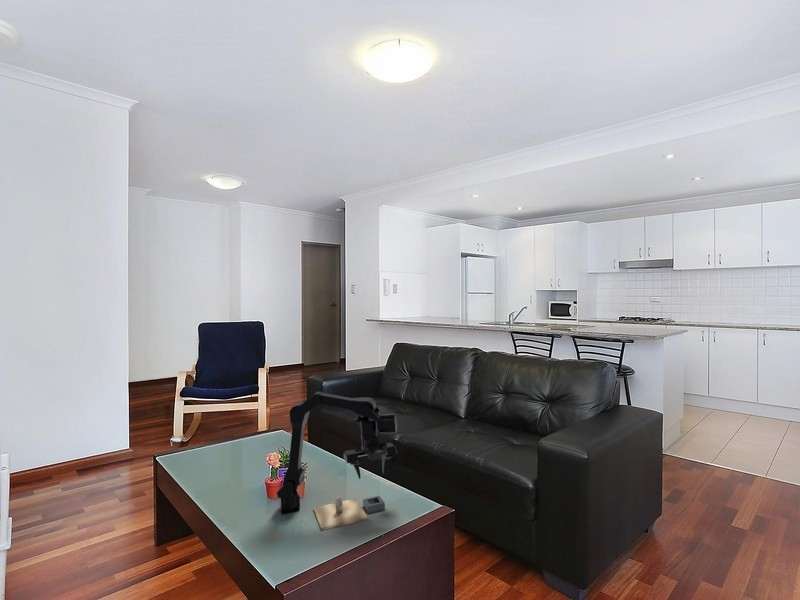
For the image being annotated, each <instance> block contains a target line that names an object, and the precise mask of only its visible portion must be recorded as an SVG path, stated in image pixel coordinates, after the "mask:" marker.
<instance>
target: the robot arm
mask: <svg viewBox="0 0 800 600" xmlns="http://www.w3.org/2000/svg"><path fill="white" fill-rule="evenodd" d="M318 405H320V406H324V407H325V406H326V407H331V408H336V409H341V410H347V411H351V412H352V413H354V414H356V415H358V416H357V417H356V419H354V423H355V424H356V423H359V424H360V439H361V450H362V451H356V450H355V449H350V450H345V451H344V452H343V460H344V461H345V462H346V464H349V465H351V466H353V468H354V470H355V473H356V475H357V478H358V479H359V480H361V471H360V461H358V460H359V458H363V457H368V460H369V461H371V462H373V461H376V460H381V470H382V474H384V475H385V474H386V469H387V467H388V463H389V461H390V459H391V458H393V457H394V455H397V454H398V452H397V451H398V450H397V446H395V445H394V444H393V443H392V442H384V443H380V442H379V437H378V433H380V434H396V433H398V420H397V416H396V413H395V412H391V413H385V414H383V412H382V411H381V409H379V407H378V406H377V402H376V401H375V400H374V398H372V397H369V396H368V397H365V396H363V397H347V396H342V395H336V394H332V393H326V392H322V391H317V392H315V393H314V394H312V396H310V397H309V398H307V399H306V400H304V401H298V402H297V403H296V404H295V405H293V406H292V407H291V408H290V409H289V422H290V426H291V438H290V439H291V440H290V448H289V456H288V457H289V460H288V467H287V469H286V471H285V474H284V477H283V480H282V485H281V487H280V488H279V489H278V490H277V492H276V495H277V497H278V499H279V500H280V501H279V502H280V506H279V510H280V512H281V513H280V514H281V515H283V516H284V515H288V514H292V513H297V512H300V507H301V500H300V494H299V492H298V489H299V487H300V485H302V483H303V482H304V480H305V478H306V475H305V473H306V469H307V468H305V467H304V468H303V466H302V453H303V446H304V445H303V444H304V437H305V436H304V435H305V427H306V424H307V422H308V419H309V415H310V411H311V410H312V409H314V408H315V407H317V406H318Z"/></svg>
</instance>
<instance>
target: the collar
mask: <svg viewBox="0 0 800 600" xmlns="http://www.w3.org/2000/svg"><path fill="white" fill-rule="evenodd" d="M362 505H363V507H362V508H364V509H365V511H366V513H367V514H373V513H376V512H381V511H385V510H386V504H385V501H384V500H383V499H382V497H381V496H380V495H376V496H372V497H367V498H363V499H362Z"/></svg>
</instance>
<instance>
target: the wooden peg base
mask: <svg viewBox="0 0 800 600" xmlns="http://www.w3.org/2000/svg"><path fill="white" fill-rule="evenodd" d="M334 501H335V502H334V503H329V504H324V505H320V506H316V507H312V508H313V512H314V515H315V518H316V520H317V522H318V525H319V528H320V531H324V530H330V529H333V528H337V527H342V526H346V525H350V524H353V523H357V522H362V521H365V520H368V515H367V514H366V513H365V511H364V509H363V507H362V506H361V505H360V503H359V500H358V499H357V498H356V497H355V498H351V499H346V500H343V496H342V495H336V496H335V497H334Z"/></svg>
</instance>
